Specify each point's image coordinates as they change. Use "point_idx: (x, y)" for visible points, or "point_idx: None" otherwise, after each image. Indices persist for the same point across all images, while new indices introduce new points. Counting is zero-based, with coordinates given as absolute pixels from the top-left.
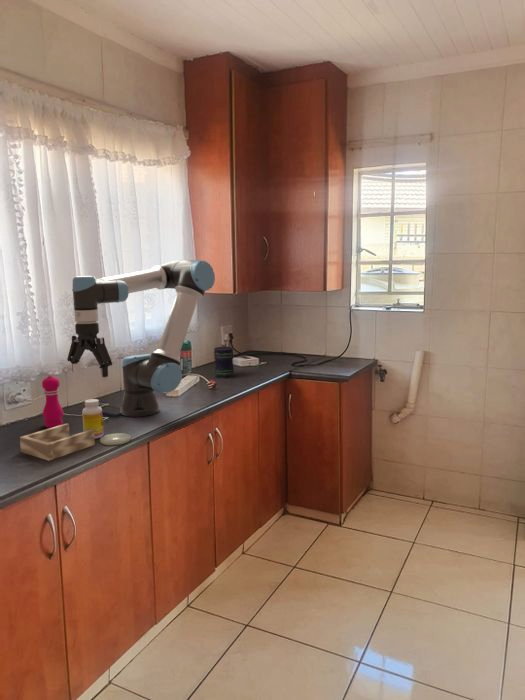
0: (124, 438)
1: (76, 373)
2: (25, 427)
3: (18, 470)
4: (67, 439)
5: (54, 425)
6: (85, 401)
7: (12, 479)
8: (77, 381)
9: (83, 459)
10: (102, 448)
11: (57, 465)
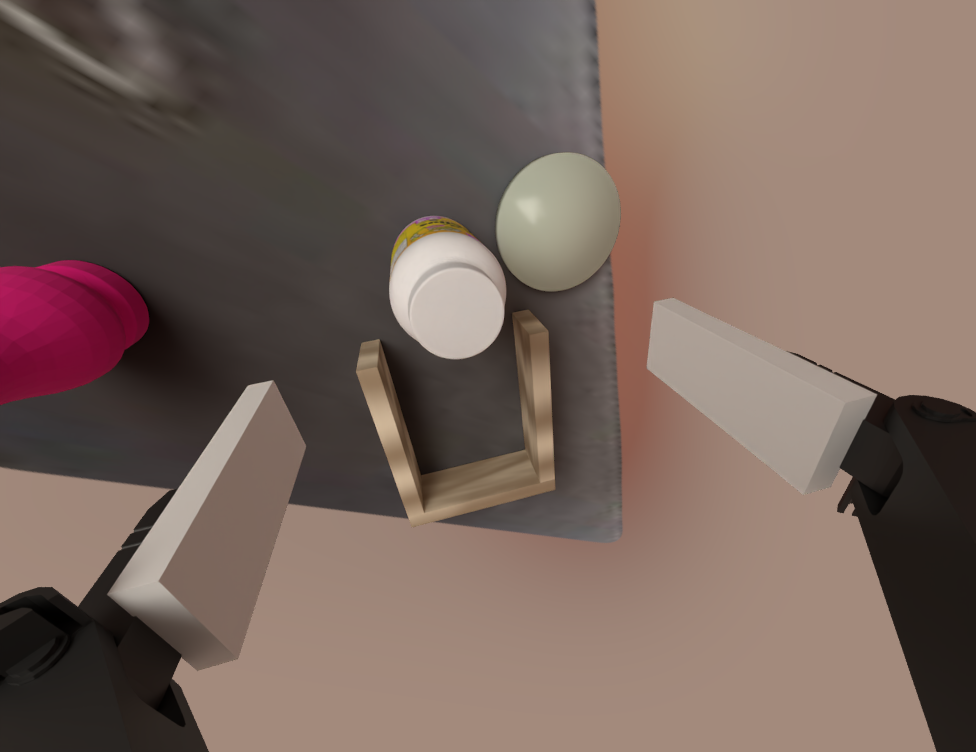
0: (599, 205)
1: (272, 501)
2: (58, 411)
3: (536, 514)
4: (552, 433)
5: (144, 324)
6: (447, 355)
7: (572, 529)
8: (295, 430)
9: (608, 393)
10: (582, 310)
11: (585, 451)
